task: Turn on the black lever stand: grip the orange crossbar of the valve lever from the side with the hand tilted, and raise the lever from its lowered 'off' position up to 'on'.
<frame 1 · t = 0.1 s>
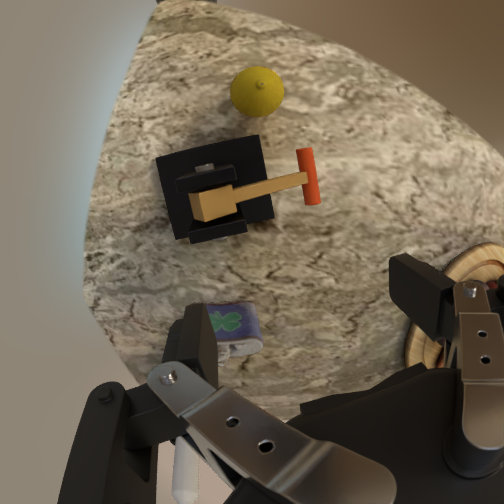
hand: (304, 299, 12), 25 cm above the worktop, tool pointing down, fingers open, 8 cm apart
black lever stand: (215, 186, 34), on the worktop
valve lever: (262, 188, 25), point 10 cm above the worktop, hinge at -25.0°
lemon: (252, 99, 32), on the worktop
flask: (221, 309, 40), on the worktop
wooden plate: (464, 318, 46), on the worktop
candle: (193, 371, 43), on the worktop
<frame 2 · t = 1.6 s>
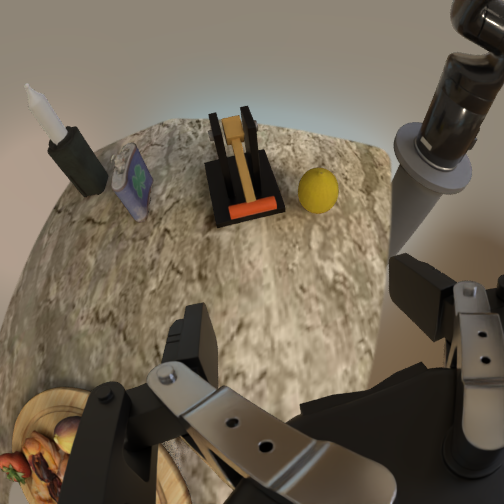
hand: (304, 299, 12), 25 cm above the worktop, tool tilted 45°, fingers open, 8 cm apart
black lever stand: (242, 187, 45), on the worktop
valve lever: (241, 164, 34), point 10 cm above the worktop, hinge at -25.0°
lemon: (315, 208, 43), on the worktop
flask: (144, 199, 46), on the worktop
wooden plate: (91, 487, 27), on the worktop
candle: (95, 185, 49), on the worktop
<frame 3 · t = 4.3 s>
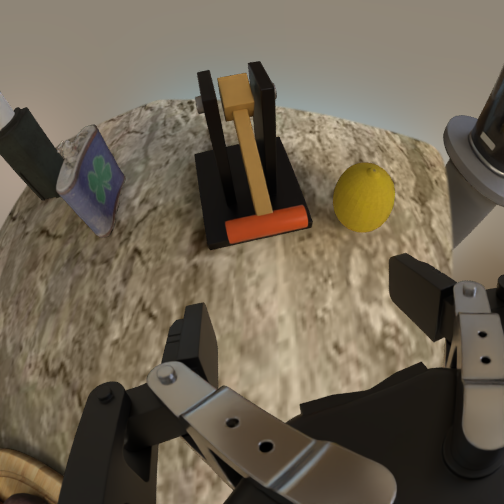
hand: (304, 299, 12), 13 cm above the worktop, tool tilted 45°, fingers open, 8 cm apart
black lever stand: (248, 190, 31), on the worktop
valve lever: (249, 151, 20), point 10 cm above the worktop, hinge at -25.0°
lemon: (353, 222, 29), on the worktop
flask: (111, 204, 32), on the worktop
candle: (56, 185, 35), on the worktop
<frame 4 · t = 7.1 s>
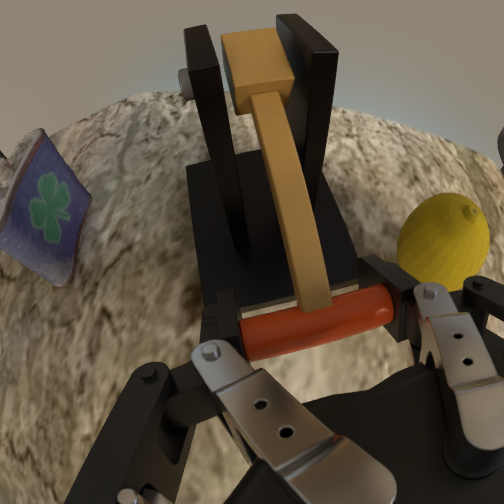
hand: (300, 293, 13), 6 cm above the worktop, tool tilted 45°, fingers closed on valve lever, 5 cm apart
black lever stand: (265, 222, 21), on the worktop
valve lever: (285, 176, 10), point 10 cm above the worktop, hinge at -25.0°, touching gripper
lemon: (415, 272, 19), on the worktop
flask: (73, 238, 22), on the worktop
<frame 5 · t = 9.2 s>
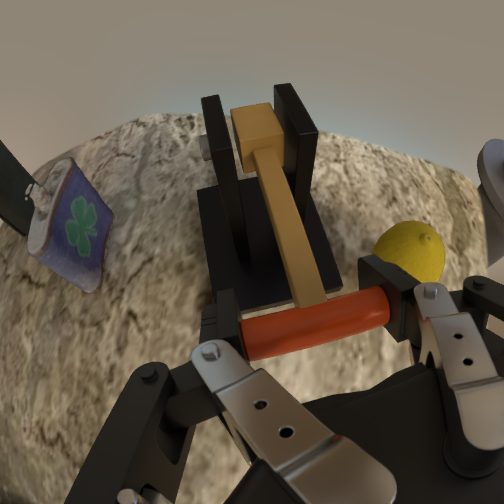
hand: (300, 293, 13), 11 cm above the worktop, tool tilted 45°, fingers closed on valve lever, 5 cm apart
black lever stand: (264, 239, 26), on the worktop
valve lever: (280, 205, 13), point 12 cm above the worktop, hinge at 1.6°, touching gripper
lemon: (387, 281, 24), on the worktop
flask: (98, 250, 27), on the worktop
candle: (37, 218, 29), on the worktop
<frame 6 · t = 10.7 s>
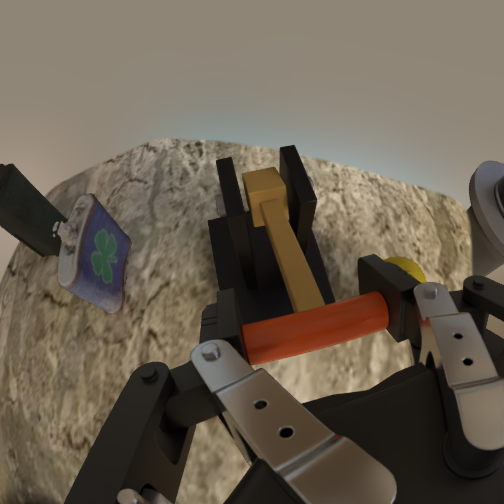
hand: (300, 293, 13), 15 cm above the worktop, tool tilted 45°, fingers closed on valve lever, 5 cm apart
black lever stand: (268, 267, 29), on the worktop
valve lever: (283, 241, 15), point 14 cm above the worktop, hinge at 24.9°, touching gripper
lemon: (377, 304, 27), on the worktop
flask: (118, 273, 30), on the worktop
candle: (55, 239, 33), on the worktop
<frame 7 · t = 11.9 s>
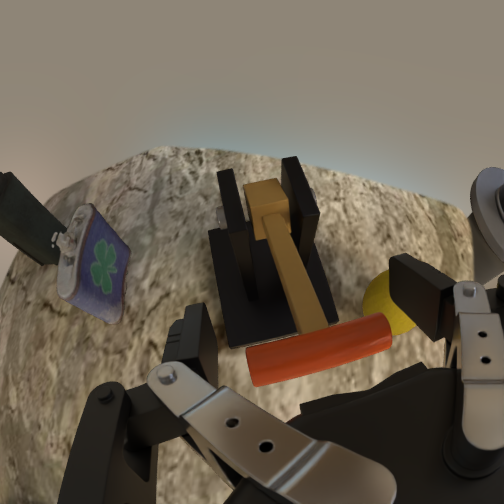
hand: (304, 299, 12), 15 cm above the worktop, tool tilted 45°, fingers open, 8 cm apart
black lever stand: (269, 277, 29), on the worktop
valve lever: (286, 258, 15), point 14 cm above the worktop, hinge at 23.5°
lemon: (379, 314, 27), on the worktop
flask: (118, 284, 30), on the worktop
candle: (54, 248, 33), on the worktop
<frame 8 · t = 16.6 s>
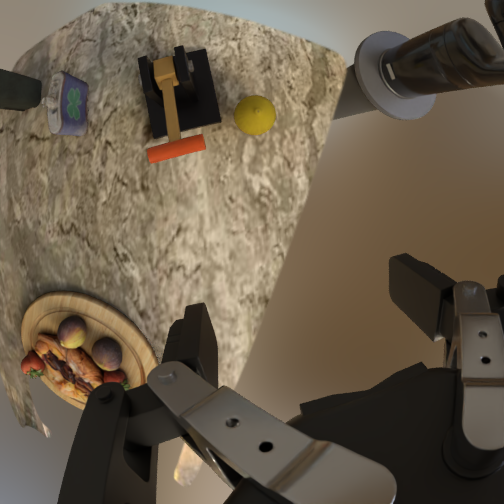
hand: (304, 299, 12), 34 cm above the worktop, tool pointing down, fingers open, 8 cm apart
black lever stand: (180, 93, 38), on the worktop
valve lever: (170, 104, 27), point 14 cm above the worktop, hinge at 23.5°
lemon: (251, 118, 41), on the worktop
flask: (82, 108, 37), on the worktop
wooden plate: (87, 357, 51), on the worktop
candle: (31, 95, 34), on the worktop
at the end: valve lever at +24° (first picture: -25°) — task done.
